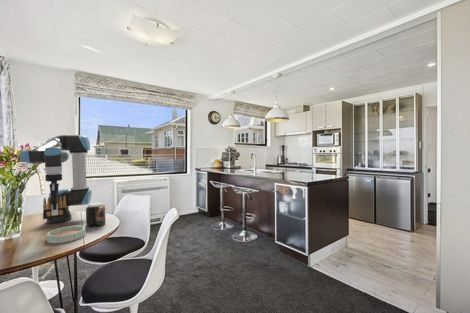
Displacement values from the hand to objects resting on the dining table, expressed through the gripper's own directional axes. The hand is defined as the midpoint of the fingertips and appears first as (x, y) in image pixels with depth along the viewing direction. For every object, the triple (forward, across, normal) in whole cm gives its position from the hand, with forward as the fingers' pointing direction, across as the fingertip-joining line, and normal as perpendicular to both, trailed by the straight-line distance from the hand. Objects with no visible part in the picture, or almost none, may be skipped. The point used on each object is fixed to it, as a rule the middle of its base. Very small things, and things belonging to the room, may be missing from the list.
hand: (55, 214), depth 130 cm
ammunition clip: (+2, 0, 0) cm, 2 cm away
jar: (+16, -22, +21) cm, 34 cm away
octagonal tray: (+16, -4, +5) cm, 17 cm away
